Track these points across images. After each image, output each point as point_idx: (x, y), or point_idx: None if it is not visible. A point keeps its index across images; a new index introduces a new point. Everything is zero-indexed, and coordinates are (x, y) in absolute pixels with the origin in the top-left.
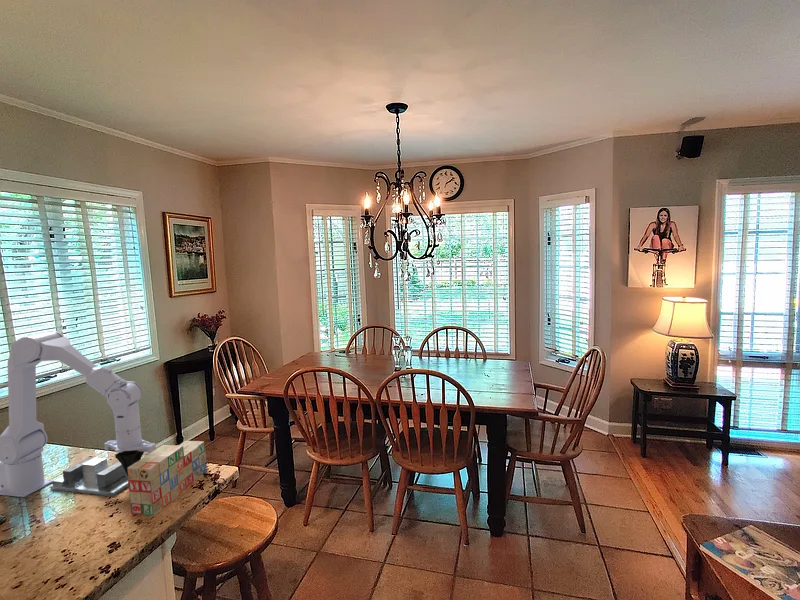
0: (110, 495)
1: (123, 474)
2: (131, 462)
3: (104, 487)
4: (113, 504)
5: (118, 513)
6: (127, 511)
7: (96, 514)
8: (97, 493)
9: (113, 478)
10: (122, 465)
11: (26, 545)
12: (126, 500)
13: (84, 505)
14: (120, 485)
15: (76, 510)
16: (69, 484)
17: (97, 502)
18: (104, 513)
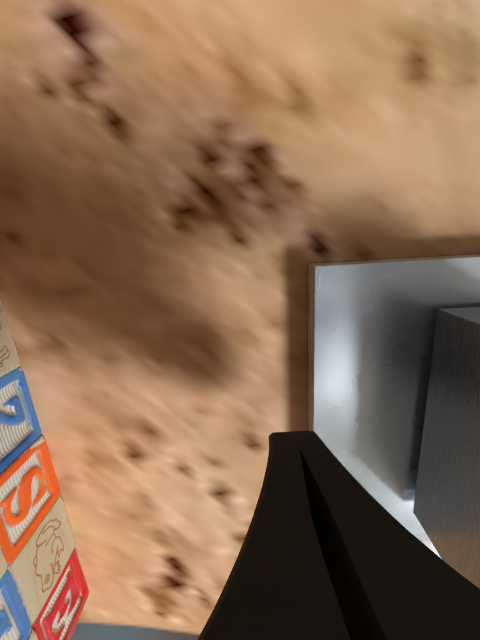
0: (334, 262)
1: (425, 472)
2: (211, 614)
3: None
4: (207, 170)
5: (48, 68)
6: (6, 113)
7: (216, 4)
8: (458, 255)
9: (449, 399)
10: (402, 528)
11: None
12: (157, 240)
13: (438, 98)
14: (340, 362)
15: (449, 11)
16: None
17: (362, 163)
18: (162, 37)
